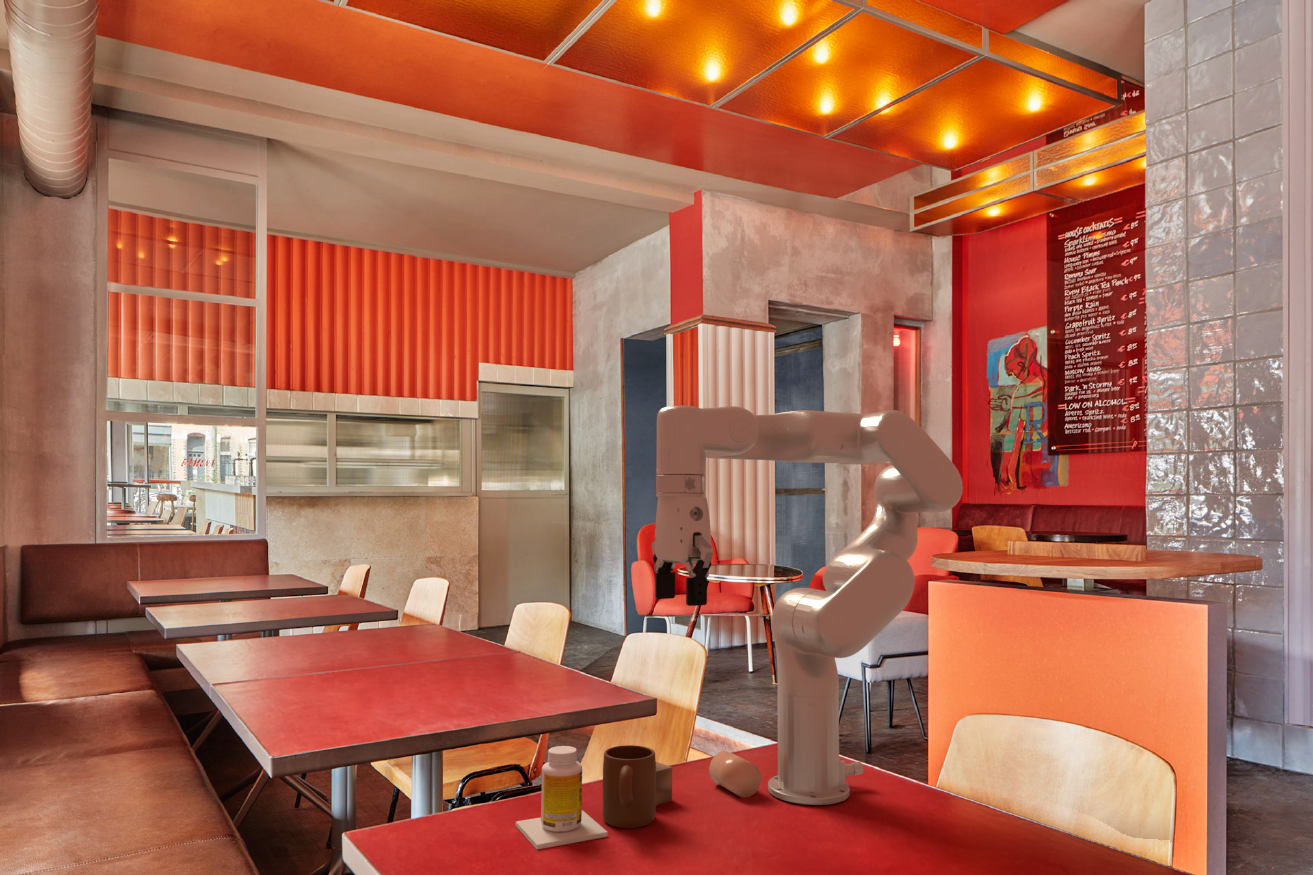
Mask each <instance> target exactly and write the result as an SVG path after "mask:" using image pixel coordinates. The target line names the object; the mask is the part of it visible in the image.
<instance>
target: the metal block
mask: <svg viewBox="0 0 1313 875" xmlns="http://www.w3.org/2000/svg"><path fill="white" fill-rule="evenodd" d="M671 801H673V766H670V765H666V764H664V763H661V762H658V761H656V806H659V805H661V804H665V803H669V802H671Z"/></svg>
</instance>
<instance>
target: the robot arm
mask: <svg viewBox="0 0 1313 875" xmlns="http://www.w3.org/2000/svg"><path fill="white" fill-rule="evenodd" d="M707 459H719V460H720V459H723V460H724V459H725V460H746V461H747V460H749V461H750V460H751V461H752V460H754V461H772V462H784V463H813V464H821V463H822V464H841V465H861V466H862V465H864V466H865V465H878V464H889V463H890V465H888V466H886V467H884V468H883V469H882V470H881V471H880V472H879V473H878V475H877V477H876V479H875V481H874V488H873V496H874V514H873V518H872V520H871V522H870V523H869V525H867V527H866V528H865V529H864V530H863V531H862V532H860V534H859V535H857V536H856V537H855V538H854V539H852V541H851V542H849V544H847V545H846V546H845V547H844V548H843V549H842V550H841V551H839V552H838V553H837V554H836V555H835V556H834V557H833V558H831V560H830V561H829V562H828V564H826V567H825V568H824V571H823V575H822V583H823V587H824V589H825V590H822V589H816V588H810V587H796V588H792V589H789V590H787V591H785V592H784V593H782V595H780V596H779V598H778V599H777V600H776V602H775V604H774V605H773V606H774V607H773V609H772V615H771V628H772V634H773V640H774V646H775V653H776V655H775V656H776V663H777V664H776V665H777V667H776V668H777V775H775V776H773V777H771V778H770V779H769V780H768V782H767V790H768V792H769V793H770V794H771V795H772V796H773V797H775V798H778V799H779V800H781V801H782V800H783V801H786V802H789V803H791V804H792V803H793V804H799V805H807V806H808V805H810V806H824V805H826V806H827V805H835V804H838V803H841V802H844V801H845V800H846V799H848V798H849V796H850V793H851V791H850V785H849V784H848V783H847V782H846V781H845V780H847V779H848V778H849V776H858V775H862V774H863V773H864V770H865V769H864V766H863V764H862V762H861V761H855V762H854V761H853V762H848V763H847V762H846V761H845V760H844V759H842V760H841V759H840V723H839V721H840V718H839V716H840V715H839V714H840V712H839V711H840V710H839V709H840V708H839V707H840V706H839V705H840V704H839V703H840V702H839V701H840V700H839V698H840V697H839V693H840V689H839V686H840V685H839V684H840V683H839V673H838V666H837V662H836V661H837V660H836V659H845V658H849V657H852V656H854V655H855V654H857V653H859V652H860V651H861V650H862V649H864V648H865V647H866V646H868V644H869V643H871V641H873V640H874V639H875V638H876V637H877V636H878V635H879V634H880V633H881V632H882V631H883V630H885V628H886V627H888V625H890V624H891V622H892V621H893V620H894V619H896V617H898V616H899V615H900V613H901V612H902V611H903V610H904V609H906V607H907V605H908V604H909V602H910V600H911V598H912V596H913V593H914V589H915V574H914V570H913V567H912V565H911V564H910V563H909V560H910V558H912V556H913V554H914V553H915V551H916V549H917V545H918V517H917V513H931V514H932V513H933V514H934V513H936V514H937V513H944V512H946V511H950V510H951V509H953V508H954V507H956V505H957V504H958V503H959V502H960V500H961V498H962V495H963V491H964V490H963V489H964V487H963V480H962V477H961V474H960V472H959V470H958V468H957V467H956V465H955V464H954V463H953V462H952V461H951V459H950V458H949V457H948V456H947V454H946V453H944V451H943V450H942V449H941V448H940V447H939V445H937V443H936V442H935V441H934V439H933V438H931V436H930V435H929V434H928V433H927V432H926V431H925V430H924V429H923V428H922V426H920V425H919V424H918V422H916V421H915V420H914V419H913V418H911V416H909V415H908V414H906V413H904V412H902V411H900V410H895V409H890V410H889V409H888V410H883V411H876V412H869V413H856V412H855V413H853V412H837V411H823V410H812V409H810V410H809V409H804V410H803V409H801V410H790V411H784V412H783V411H781V412H778V413H771V414H769V413H768V414H755V415H754V413H752V412H751V411H750V410H748V409H746V408H743V407H741V406H735V405H732V406H729V405H728V406H720V407H719V406H718V407H705V408H704V407H703V408H701V407H698V406H694V405H693V406H692V405H670V406H669V405H668V406H664V407H662V408H660V410H658V412H657V415H656V478H655V479H656V481H655V482H656V483H655V484H656V486H655V488H656V489H655V492H656V493H655V494H656V495H655V496H656V498H657V504H656V505H657V506H656V514H655V527H654V528H655V530H654V540H653V541H652V543H651V545H650V546H651V551H652V555H653V556H652V561H653V563H654V566H653V570H654V572H655V586H654V587H655V591H654V592H655V593H654V594H655V598H656V599H657V600H661V599H662V600H664V599H665V600H666V599H667V600H668V599H675V597H676V572H675V571H673V570H674V568H675V566H676V564H681V565H683V564H684V566H685V569H686V572H687V574H688V576H689V577H685V589H686V590H685V603H686V605H687V606H690V607H691V606H693V607H695V606H696V607H697V606H706V605H707V603H708V578H709V576H710V569H711V567H712V558H713V555H714V548H713V546H712V531H711V529H712V528H711V520H710V510H709V505H708V498H707V496H706V495H707V494H706V492H707V488H706V487H707V486H706V485H707V482H706V481H707V476H706V475H707Z"/></svg>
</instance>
